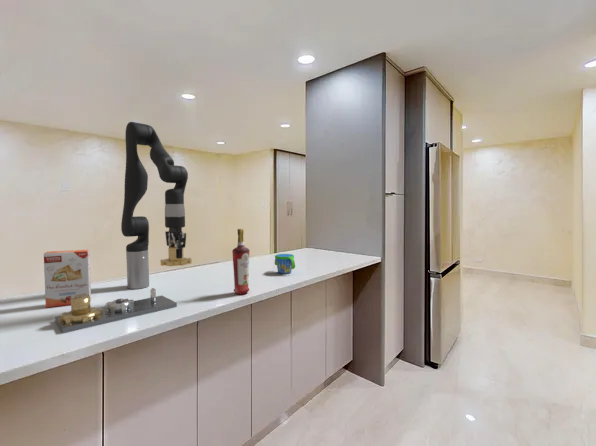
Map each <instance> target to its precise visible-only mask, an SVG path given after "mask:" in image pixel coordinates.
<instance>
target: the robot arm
mask: <svg viewBox="0 0 596 446" xmlns="http://www.w3.org/2000/svg"><path fill="white" fill-rule="evenodd" d="M138 145H139V146H148V147H149V148H150V149H149V158H150V160H151V161H152V163H153V164H154V166H156V168H157V171H158V175H159V178H160V180H161V181H162V182H164V183H166V184H175V185H174V187H173V188H169V189H167V190H165V192H164V227H165V228H166V229H168V231H165V232H164V233H165V234H164V235H165V242H166V246H167V247H168V248H169V247H176V258H177V259H180V258H182V249H183V250H184V248H186V242H187V233H186V232H183V228H185V227H186V209H185V191H186V187H187V183H188V179H189V174H188V170H187V169H186V167H184V166H183V165H176V164H175V161H174V159H173V157H172V156H171V154H169V153H168V151H167V150H166V149H165V148H164V146H163V144H162V141H161V139H160V137H159V135H158V134H157V131H156V130H155V129H154V127H153V126H152V125H149V124H145V123H140V122H135V121H130V122H128V123H127V124H126V128H125V154H126V155H125V172H124V173H125V174H124V192H123V193H124V197H123V198H124V199H123V207H122V209H123V210H122V216H121V222H120V223H121V226H120V227H121V229H120V230H121V234H122V235H123V236H124V237H127V238H128V237H130V238H131V237H137V238H136V240H134V241H132V242H131V243H128V244H127V245H126V246H125V253H126V255H125V256H126V257H125V258H126V285H127V286H126V288H127V289H130V290H137V289H138V290H139V289H144V288H149V286H150V267H149V263H150V261H149V244H150V242H149V241H150V239H149V235H150V226H149V225H150V224H149V220H148V218H147V217H146V216H134V212H135V209H136V207H137V205H138V204H139V202H140V201H141V200H142V198H143V197H144V196H145V194H146V192H147V190H148V180H149V176H148V175H149V174H148V172H147V169H146V168H145V166H144V164H143V163H142V161H141V159H140V157H139V153H138Z"/></svg>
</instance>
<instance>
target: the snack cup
mask: <svg viewBox="0 0 596 446" xmlns="http://www.w3.org/2000/svg"><path fill="white" fill-rule="evenodd" d="M274 265H275V266H276V269H277V273H278V274H282V275H289V274H291V273H292V270H294V269H295V268H296V263H295V255H294V254H291V253H277V254H275V255H274Z"/></svg>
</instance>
